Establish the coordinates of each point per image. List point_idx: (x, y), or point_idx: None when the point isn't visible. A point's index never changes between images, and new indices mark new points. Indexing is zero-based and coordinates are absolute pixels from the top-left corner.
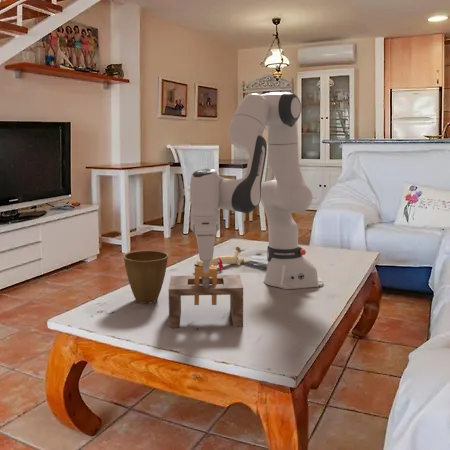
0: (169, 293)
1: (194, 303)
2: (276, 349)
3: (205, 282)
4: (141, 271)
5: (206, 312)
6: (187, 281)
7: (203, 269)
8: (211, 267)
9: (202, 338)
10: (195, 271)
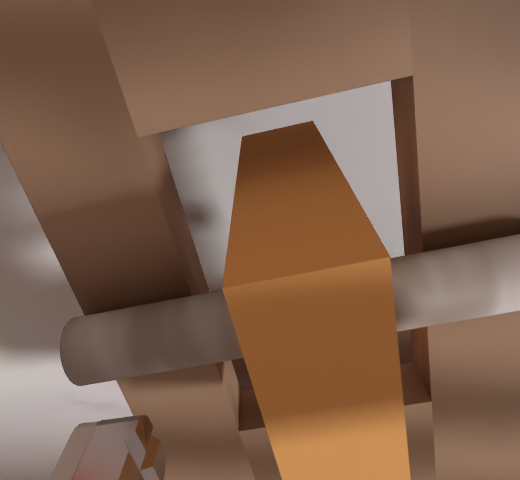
0: None
1: (242, 140)
2: (37, 454)
3: (66, 368)
4: None
5: (387, 156)
6: (293, 98)
7: (58, 461)
8: (362, 455)
9: (25, 207)
10: (226, 277)
